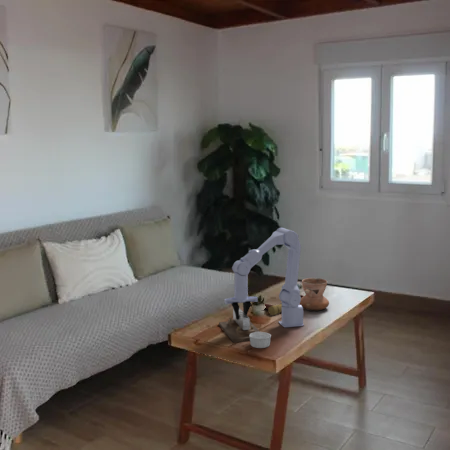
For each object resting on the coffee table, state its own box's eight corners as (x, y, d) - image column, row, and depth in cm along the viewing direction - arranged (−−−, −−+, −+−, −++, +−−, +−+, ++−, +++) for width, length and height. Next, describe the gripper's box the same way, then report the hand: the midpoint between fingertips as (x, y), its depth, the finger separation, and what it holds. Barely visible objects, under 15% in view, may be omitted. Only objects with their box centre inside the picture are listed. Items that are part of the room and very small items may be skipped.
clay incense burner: (319, 315, 289) (320, 286, 287) (292, 310, 297) (293, 282, 295) (335, 306, 304) (336, 278, 301) (309, 301, 312) (310, 274, 310)
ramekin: (244, 345, 249) (244, 335, 248) (259, 340, 255) (259, 330, 255) (260, 350, 243) (260, 340, 242) (275, 345, 249) (275, 335, 248)
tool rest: (248, 322, 279) (248, 312, 278) (264, 339, 256) (264, 328, 255) (218, 324, 275) (218, 315, 275) (232, 342, 252) (232, 331, 252)
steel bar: (233, 319, 272) (233, 308, 271) (239, 318, 273) (239, 307, 272) (243, 330, 257) (243, 318, 256) (249, 329, 258) (249, 318, 257)
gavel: (243, 301, 303) (257, 297, 310) (244, 310, 304) (257, 306, 310) (275, 306, 288) (288, 302, 295) (275, 316, 288) (289, 312, 295)
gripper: (227, 291, 257) (227, 322, 259) (259, 289, 260) (259, 320, 263) (223, 287, 264) (223, 317, 266) (254, 285, 267) (254, 315, 269)
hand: (241, 318), depth 265 cm, fingers closed on steel bar, 3 cm apart
